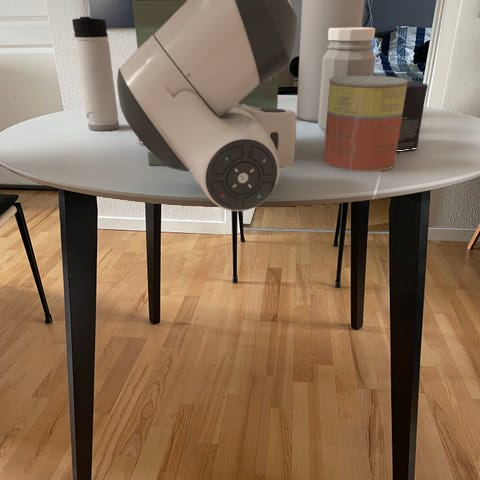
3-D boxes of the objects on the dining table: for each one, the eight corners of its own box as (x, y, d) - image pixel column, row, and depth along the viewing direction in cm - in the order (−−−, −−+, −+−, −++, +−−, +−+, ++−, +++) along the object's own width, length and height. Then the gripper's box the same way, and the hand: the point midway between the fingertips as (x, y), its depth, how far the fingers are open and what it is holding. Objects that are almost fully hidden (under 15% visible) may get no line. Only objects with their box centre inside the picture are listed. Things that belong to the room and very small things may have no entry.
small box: (353, 141, 93) (359, 78, 87) (382, 138, 95) (391, 77, 89) (386, 153, 84) (396, 85, 79) (418, 150, 86) (430, 83, 81)
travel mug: (85, 131, 101) (67, 16, 91) (92, 125, 107) (75, 16, 96) (116, 131, 102) (101, 16, 91) (121, 125, 107) (108, 16, 97)
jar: (309, 128, 103) (316, 27, 94) (351, 125, 106) (362, 27, 96) (330, 137, 95) (340, 28, 86) (375, 134, 98) (389, 28, 88)
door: (280, 171, 75) (286, -1, 63) (146, 174, 73) (127, 0, 62) (274, 160, 80) (279, 0, 69) (149, 163, 79) (133, 1, 67)
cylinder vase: (335, 125, 106) (348, -17, 93) (285, 119, 112) (291, -15, 99) (361, 116, 114) (376, -15, 101) (313, 111, 121) (322, -13, 107)
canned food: (378, 153, 85) (389, 74, 78) (407, 170, 75) (422, 83, 69) (314, 155, 83) (320, 76, 77) (334, 174, 74) (343, 85, 67)
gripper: (140, 172, 60) (143, 146, 72) (305, 164, 63) (282, 141, 74) (134, 116, 57) (138, 99, 69) (308, 110, 59) (284, 95, 71)
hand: (214, 121), depth 71 cm, fingers closed
